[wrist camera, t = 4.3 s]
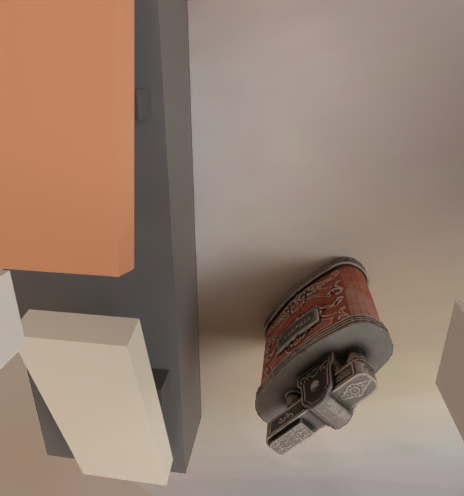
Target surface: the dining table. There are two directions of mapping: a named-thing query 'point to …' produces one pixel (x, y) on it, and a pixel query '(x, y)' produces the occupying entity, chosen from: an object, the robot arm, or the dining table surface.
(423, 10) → the dining table surface
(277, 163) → the dining table surface
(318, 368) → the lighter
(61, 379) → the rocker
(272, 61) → the dining table surface
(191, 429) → the rocker switch base
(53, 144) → the rocker middle
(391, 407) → the dining table surface
